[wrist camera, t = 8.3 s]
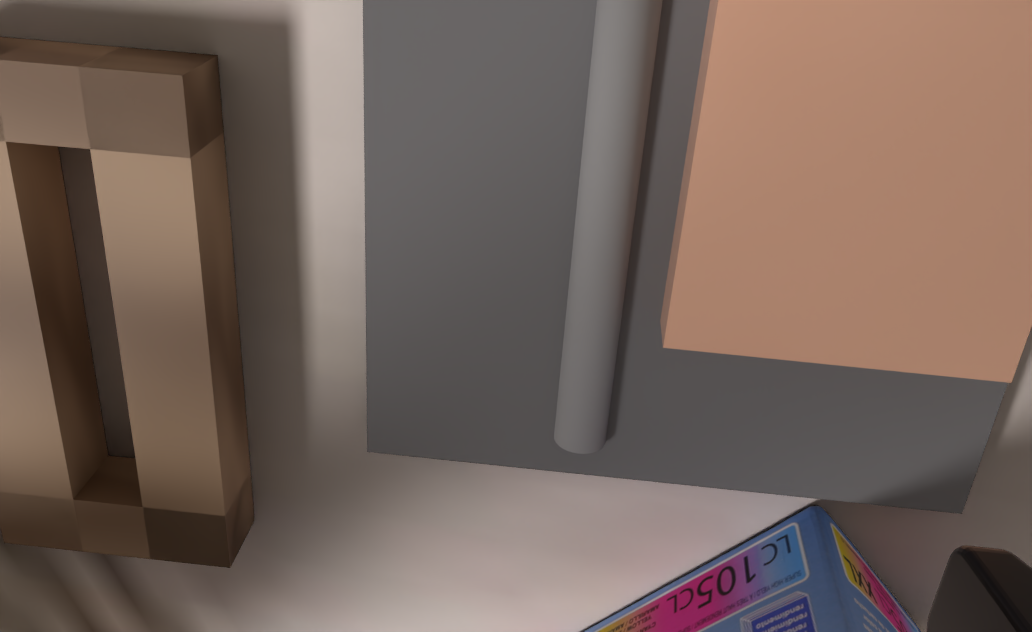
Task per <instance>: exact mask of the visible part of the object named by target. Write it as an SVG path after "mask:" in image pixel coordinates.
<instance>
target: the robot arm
mask: <svg viewBox="0 0 1032 632" xmlns="http://www.w3.org/2000/svg"><path fill="white" fill-rule="evenodd" d="M927 632H1032V568H1031V567H1030V566H1028V565H1027V564H1026V563H1024V562H1023V561H1022V560H1020V559H1019V558H1018V557H1017V556H1015V555H1014V554H1012V553H1011V552H1008V551H1006V550H1002V549H994V548H985V547H975V546H961V547H959V548H957V549H955V551H954V552H953V553H952V554H951V556H950V558H949V560H948V563H947V566H946V569H945V571H944V574H943V577H942V580H941V582H940V585H939V588H938V591H937V594H936V596H935V599H934V602H933V605H932V607H931V610H930V613H929V617H928V623H927Z"/></svg>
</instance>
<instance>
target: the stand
mask: <svg viewBox="0 0 1032 632" xmlns="http://www.w3.org/2000/svg"><path fill="white" fill-rule="evenodd" d="M58 146H60V147H71V148H82V149H90V152H91V159H92V166H93V173H94V179H95V186H96V193H97V200H98V207H99V213H100V220H101V227H102V234H103V241H104V247H105V254H106V261H107V268H108V275H109V281H110V288H111V295H112V302H113V309H114V316H115V322H116V329H117V336H118V343H119V350H120V356H121V363H122V370H123V377H124V384H125V390H126V397H127V404H128V411H129V418H130V424H131V431H132V438H133V445H134V452H135V458H126V457H117V456H108V451H107V445H106V439H105V432H104V426H103V420H102V414H101V408H100V402H99V395H98V389H97V383H96V377H95V371H94V365H93V359H92V352H91V346H90V340H89V334H88V328H87V322H86V316H85V309H84V303H83V297H82V291H81V285H80V279H79V273H78V266H77V260H76V254H75V248H74V242H73V236H72V229H71V223H70V217H69V211H68V205H67V199H66V193H65V186H64V180H63V174H62V168H61V162H60V156H59V150H58ZM253 522H254V508H253V496H252V483H251V470H250V458H249V445H248V433H247V420H246V408H245V395H244V382H243V370H242V357H241V345H240V332H239V319H238V307H237V294H236V282H235V269H234V257H233V244H232V231H231V219H230V206H229V194H228V181H227V169H226V156H225V143H224V131H223V118H222V106H221V93H220V81H219V68H218V55H208V54H196V53H185V52H173V51H161V50H149V49H137V48H126V47H114V46H102V45H90V44H78V43H67V42H55V41H43V40H31V39H19V38H8V37H0V527H1V532H2V536H3V540H4V543H10V544H19V545H29V546H38V547H47V548H56V549H65V550H74V551H83V552H92V553H101V554H110V555H119V556H128V557H137V558H146V559H155V560H164V561H173V562H182V563H191V564H200V565H209V566H218V567H227V568H230V567H231V565H232V563H233V561H234V559H235V557H236V555H237V554H238V552H239V550H240V548H241V546H242V544H243V542H244V540H245V538H246V536H247V534H248V532H249V530H250V528H251V526H252V524H253Z"/></svg>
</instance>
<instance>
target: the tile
mask: <svg viewBox="0 0 1032 632" xmlns="http://www.w3.org/2000/svg"><path fill="white" fill-rule="evenodd" d="M660 324H661V333H662V343H663V348H671V349H681V350H691V351H701V352H710V353H720V354H730V355H740V356H750V357H760V358H770V359H780V360H790V361H799V362H809V363H819V364H829V365H839V366H849V367H859V368H869V369H879V370H888V371H898V372H908V373H918V374H928V375H938V376H948V377H958V378H967V379H977V380H987V381H997V382H1007V383H1012V380H1013V377H1014V374H1015V371H1016V369H1017V366H1018V363H1019V360H1020V358H1021V355H1022V352H1023V349H1024V346H1025V344H1026V341H1027V338H1028V335H1029V333H1030V330H1031V327H1032V0H710V4H709V10H708V17H707V23H706V30H705V36H704V42H703V49H702V55H701V62H700V68H699V75H698V81H697V87H696V94H695V100H694V107H693V113H692V120H691V126H690V132H689V139H688V145H687V152H686V158H685V165H684V171H683V177H682V184H681V190H680V197H679V203H678V210H677V216H676V222H675V229H674V235H673V242H672V248H671V255H670V261H669V267H668V274H667V280H666V287H665V293H664V300H663V306H662V313H661V319H660Z"/></svg>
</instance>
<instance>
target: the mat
mask: <svg viewBox="0 0 1032 632" xmlns="http://www.w3.org/2000/svg"><path fill="white" fill-rule="evenodd" d="M709 4H710V0H363V51H364V152H365V253H366V355H367V452H374V453H383V454H393V455H403V456H412V457H422V458H431V459H441V460H451V461H460V462H470V463H479V464H489V465H499V466H508V467H518V468H527V469H537V470H547V471H556V472H566V473H575V474H585V475H595V476H604V477H614V478H623V479H633V480H643V481H652V482H662V483H671V484H681V485H691V486H700V487H710V488H719V489H729V490H739V491H748V492H758V493H767V494H777V495H787V496H796V497H806V498H815V499H825V500H835V501H844V502H854V503H863V504H873V505H883V506H892V507H902V508H911V509H921V510H931V511H940V512H950V513H959V514H962V512H963V509H964V506H965V504H966V501H967V498H968V495H969V492H970V489H971V487H972V484H973V481H974V478H975V475H976V472H977V469H978V467H979V464H980V461H981V458H982V455H983V452H984V450H985V447H986V444H987V441H988V438H989V435H990V433H991V430H992V427H993V424H994V421H995V418H996V416H997V413H998V410H999V407H1000V404H1001V401H1002V399H1003V396H1004V393H1005V390H1006V387H1007V384H1008V383H1007V382H997V381H987V380H977V379H967V378H958V377H948V376H938V375H928V374H918V373H908V372H898V371H888V370H879V369H869V368H859V367H849V366H839V365H829V364H819V363H809V362H799V361H790V360H780V359H770V358H760V357H750V356H740V355H730V354H720V353H710V352H701V351H691V350H681V349H671V348H663V343H662V333H661V324H660V319H661V313H662V306H663V300H664V293H665V287H666V280H667V274H668V267H669V261H670V255H671V248H672V242H673V235H674V229H675V222H676V216H677V210H678V203H679V197H680V190H681V184H682V177H683V171H684V165H685V158H686V152H687V145H688V139H689V132H690V126H691V120H692V113H693V107H694V100H695V94H696V87H697V81H698V75H699V68H700V62H701V55H702V49H703V42H704V36H705V30H706V23H707V17H708V10H709Z"/></svg>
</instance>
